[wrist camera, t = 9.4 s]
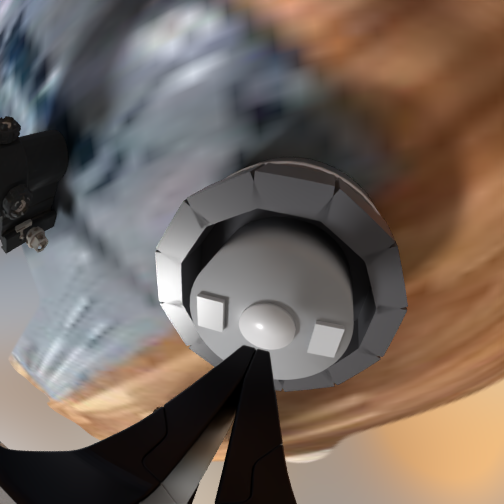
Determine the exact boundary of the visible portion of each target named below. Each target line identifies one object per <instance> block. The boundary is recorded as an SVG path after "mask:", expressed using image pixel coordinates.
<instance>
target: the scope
mask: <svg viewBox="0 0 504 504" xmlns="http://www.w3.org/2000/svg"><path fill="white" fill-rule="evenodd" d="M20 130H21V126H20V125H19V124H18V122H16V121H15V120H14V119H13V118H12V117H7V116H6V117H5V118H4V119H2V117H1V118H0V240H1V242H2V245H3V246H2V249H3V250H4V252H5V253H8V252H10V251H11V250H13V249H14V248H16V247H18V246H20V245H21V244H23V243H25V242H26V243H27V245H28V246H29V247H30V248H34V249H35V250H36V251H37V252H41V251H42V250H44V248H45V247H46V246H47V244H48V239H47V238H46V237H45V232H44V231H46V230H48V229H50V228H52V227H53V226H54V223H55V218H56V212H55V211H54V210H53V211H51V210H50V209H51V206H52V203H53V200H54V196H55V192H56V188H57V184H58V181H59V180H60V179H61V178H62V177H63V176H64V174H65V172H66V169H67V165H68V150H67V145H66V142H65V139H64V137H63V136H62V134H61V133H60V132H58V131H57V130H48V131H43V132H39V133H34V134H30V135H26V136H22V137H18V136H19V134H20V132H19V131H20ZM38 246H41V247H42V248H41V249H37V248H38Z"/></svg>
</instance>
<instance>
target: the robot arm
mask: <svg viewBox="0 0 504 504" xmlns="http://www.w3.org/2000/svg"><path fill="white" fill-rule="evenodd" d="M233 420H234V423H233V427H232V432H231V436H230V440H229V445H228V449H227V453H226V457H225V462H224V466H223V470H222V475H221V479H220V483H219V487H218V491H217V495H216V499H215V504H297V503H296V500H295V497H294V494H293V491H292V487H291V483H290V480H289V476H288V473H287V467H286V461H285V455H284V448H283V445H282V444H283V442H282V435H281V428H280V420H279V413H278V406H277V399H276V392H275V385H274V378H273V371H272V364H271V357H270V352H269V351H266V350H262V349H256V348H254V347H251V346H247V345H242V346H241V347H240V348H238V349H237V350H236V351H235V352H233V353H232V354H231V355H230V356H228V357H227V358H226V359H225V360H223V361H222V362H221V363H219V364H218V365H217V366H216V367H214V368H213V369H212V370H210V371H209V372H208V373H207V374H205V375H204V376H203V377H201V378H200V379H199V380H197V381H196V382H195V383H193V384H192V385H191V386H189V387H188V388H187V389H185V390H184V391H183V392H181V393H180V394H179V395H177V396H176V397H175V398H173V399H172V400H170V401H169V402H168V403H166V404H165V405H164V407H160V408H159V409H158V410H156V409H155V410H154V411H153V413H152V414H150V415H149V416H147V417H146V418H144V419H143V420H141V421H139V422H138V423H136V424H134V425H132V426H130V427H128V428H127V429H125V430H123V431H121V432H119V433H117V434H114V435H112V436H110V437H108V438H106V439H104V440H102V441H99V442H97V443H95V444H93V445H91V446H88V447H85V448H82V449H78V450H73V451H20V450H19V451H18V450H10V449H8V448H7V447H6V446H5V445H3V444H2V443H1V442H0V504H192V502H193V499H194V496H195V494H196V491H197V488H198V486H199V482H200V480H201V479H202V477H203V475H204V473H205V471H206V470H207V468H208V466H209V465H210V463H211V461H212V459H213V457H214V456H215V454H216V452H217V450H218V448H219V446H220V445H221V443H222V441H223V439H224V437H225V435H226V433H227V432H228V430H229V428H230V426H231V424H232V422H233Z"/></svg>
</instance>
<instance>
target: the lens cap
mask: <svg viewBox="0 0 504 504" xmlns="http://www.w3.org/2000/svg"><path fill="white" fill-rule="evenodd" d="M190 311H191V316H192V320H193V323H194V325H195V327H196V330H197V331H198V333H199V335H200V337H201V338H202V339H203V341H204V342H205V343H206V345H207V346H208V347H209V348H210V349H211V350H212V351H213V352H214V353H215V354H216V355H217V356H218V357H220V358H221V359H222V360H225V359H226V358H227V357H228V356H230V355H231V354H232V353H233V352H235V351H236V350H237V349H238V348H240V347H241V346H242V345H247V346H251V347H254V348H256V349H262V350H266V351H269V352H270V357H271V364H272V371H273V378H274V379H276V380H291V379H299V378H305V377H308V376H312V375H315V374H317V373H319V372H322V371H323V370H325V369H327V368H329V367H330V366H331V365H333V364H334V363H335V362H336V361H337V360H338V359H339V358H340V357H341V356H342V355H343V353H344V352H345V351H346V349H347V347H348V345H349V343H350V341H351V337H352V334H353V327H354V321H353V294H352V277H351V270H350V266H349V263H348V260H347V258H346V255H345V254H344V252H343V250H342V249H341V247H340V246H339V245H338V244H337V242H336V241H335V240H334V239H333V238H332V237H331V236H330V235H329V234H327V233H326V232H325V231H323V230H322V229H320V228H319V227H317V226H315V225H313V224H311V223H308V222H306V221H303V220H300V219H296V218H290V217H268V218H262V219H259V220H255V221H253V222H251V223H248V224H246V225H245V226H243V227H242V228H240V229H239V230H237V231H236V232H235V233H234V234H233V235H232V236H231V237H230V238H229V240H228V241H227V242H226V243H225V244H224V245H223V247H222V248H221V249H220V250H219V251H218V252H217V253H216V255H215V256H214V257H213V258H212V259H211V260H210V262H209V263H208V264H207V265H206V266H205V268H204V269H203V270H202V271H201V272H200V273H199V275H198V276H197V278H196V280H195V282H194V284H193V287H192V290H191V295H190Z"/></svg>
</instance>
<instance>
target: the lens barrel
mask: <svg viewBox="0 0 504 504" xmlns="http://www.w3.org/2000/svg"><path fill="white" fill-rule="evenodd" d="M268 217H290V218H296V219H300V220H303V221H306V222H308V223H311V224H313V225H315V226H317V227H319V228H320V229H322V230H323V231H325V232H326V233H327V234H329V235H330V236H331V237H332V238H333V239H334V240H335V241H336V242H337V244H338V245H339V246H340V247H341V249H342V250H343V252H344V254H345V255H346V258H347V260H348V263H349V266H350V270H351V277H352V294H353V321H354V327H353V334H352V337H351V341H350V343H349V345H348V347H347V349H346V351H345V352H344V353H343V355H342V356H341V357H340V358H339V359H338V360H337V361H336V362H335V363H334V364H333V365H331V366H330V367H329V368H327V369H325V370H323V371H322V372H319V373H317V374H315V375H312V376H308V377H305V378H299V379H291V380H276V379H274V385H275V390H277V391H281V390H282V388H283V390H284V391H285V392H287V391H298V390H308V389H317V388H325V387H333V386H335V384H337V385H339V384H341V383H343V382H344V381H346V380H348V379H349V378H351V377H353V376H355V375H356V374H358V373H360V372H361V371H363V370H364V369H366V368H368V367H369V366H371V365H372V364H374V363H376V362H377V361H379V360H380V356H381V357H383V356H384V354H385V352H386V350H387V349H388V347H389V345H390V343H391V341H392V339H393V338H394V336H395V334H396V332H397V330H398V328H399V326H400V324H401V322H402V320H403V318H404V316H405V314H406V312H407V308H406V307H408V304H407V297H406V290H405V284H404V278H403V272H402V266H401V261H400V256H399V251H398V246H397V244H396V241H395V239H394V237H393V235H392V233H391V231H390V228H389V226H388V225H387V223H386V221H385V220H384V219H383V218H382V217H381V215H380V214H379V212H378V211H377V209H376V207H375V205H374V203H373V202H372V200H371V199H370V198H369V196H368V195H367V193H366V192H365V191H364V190H363V189H362V188H361V187H360V186H359V185H358V184H357V183H356V182H355V181H354V180H352V179H351V178H350V177H349V176H347V175H346V174H344V173H343V172H341V171H339V170H338V169H336V168H334V167H332V166H329V165H327V164H325V163H322V162H319V161H315V160H311V159H306V158H298V157H280V158H274V159H268V160H265V161H262V162H258V163H255V164H253V165H251V166H249V167H246V168H244V169H242V170H240V171H238V172H236V173H233V174H231V175H230V176H228V177H226V178H225V179H223V180H221V181H218V182H216V183H214V184H211V185H209V186H207V187H205V188H204V189H202V190H200V191H198V192H197V193H195V194H193V195H191V196H190V197H188V198H187V199H186V200H184V201H183V203H182V204H181V206H180V207H179V209H178V211H177V212H176V214H175V216H174V218H173V219H172V221H171V223H170V224H169V226H168V228H167V229H166V231H165V233H164V235H163V236H162V238H161V240H160V242H159V244H158V245H157V247H156V249H157V251H155V257H156V271H157V284H158V295H159V301H161V302H162V303H161V304H160V305H161V306H162V308H163V309H164V311H165V313H166V314H167V316H168V318H169V319H170V321H171V322H172V324H173V326H174V327H175V329H176V330H177V332H178V333H179V335H180V337H181V338H182V340H183V341H184V343H185V344H186V346H187V345H190V347H189V349H191V350H192V351H193V352H195V353H196V354H198V355H199V356H200V357H202V358H203V359H204V360H206V361H207V362H209V363H210V364H211V365H213V366H214V367H216V366H217V365H218V364H219V363H221V362H222V361H223V360H222V359H221V358H220V357H218V356H217V355H216V354H215V353H214V352H213V351H212V350H211V349H210V348H209V347H208V346H207V345H206V343H205V342H204V341H203V339H202V338H201V337H200V335H199V333H198V331H197V330H196V327H195V325H194V323H193V320H192V316H191V311H190V295H191V290H192V287H193V284H194V282H195V280H196V278H197V276H198V275H199V273H200V272H201V271H202V270H203V269H204V268H205V266H206V265H207V264H208V263H209V262H210V260H211V259H212V258H213V257H214V256H215V255H216V253H217V252H218V251H219V250H220V249H221V248H222V247H223V245H224V244H225V243H226V242H227V241H228V240H229V238H230V237H231V236H232V235H233V234H234V233H235V232H236V231H237V230H239V229H240V228H242V227H243V226H245V225H246V224H248V223H251V222H253V221H255V220H259V219H262V218H268Z"/></svg>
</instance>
